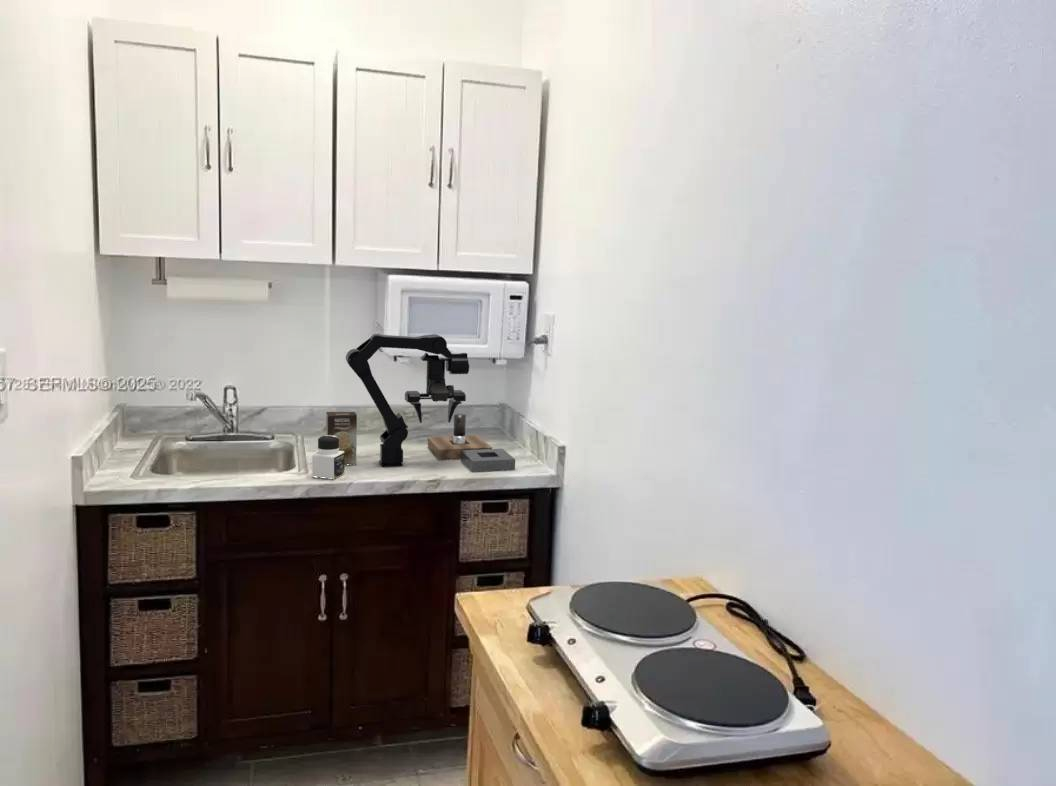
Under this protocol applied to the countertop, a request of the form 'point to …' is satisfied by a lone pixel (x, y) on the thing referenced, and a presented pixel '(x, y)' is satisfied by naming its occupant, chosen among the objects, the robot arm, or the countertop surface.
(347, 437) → the coffee box
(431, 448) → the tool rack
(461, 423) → the dark rounded cylinder
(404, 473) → the countertop surface
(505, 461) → the socket block
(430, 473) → the countertop surface
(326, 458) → the medicine bottle
